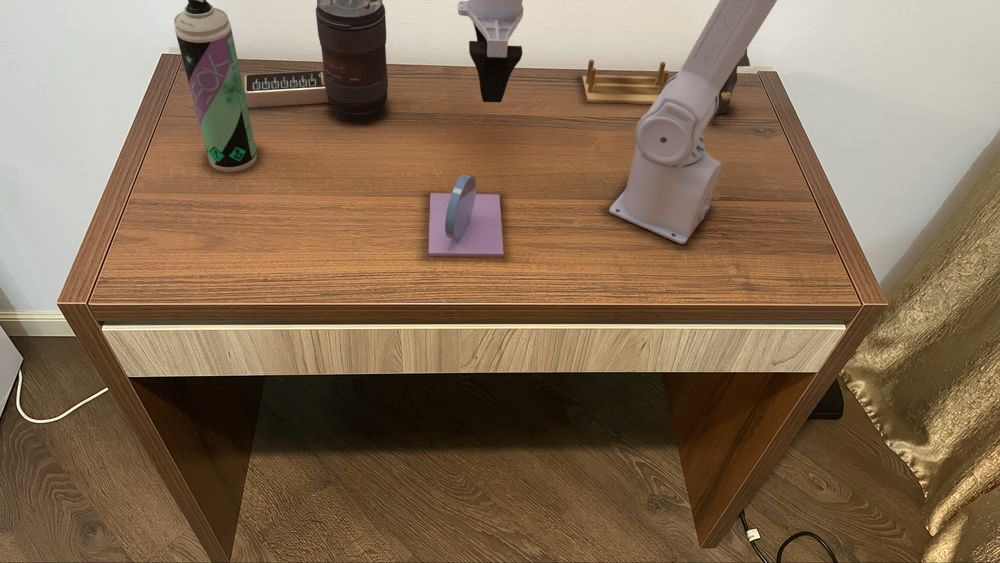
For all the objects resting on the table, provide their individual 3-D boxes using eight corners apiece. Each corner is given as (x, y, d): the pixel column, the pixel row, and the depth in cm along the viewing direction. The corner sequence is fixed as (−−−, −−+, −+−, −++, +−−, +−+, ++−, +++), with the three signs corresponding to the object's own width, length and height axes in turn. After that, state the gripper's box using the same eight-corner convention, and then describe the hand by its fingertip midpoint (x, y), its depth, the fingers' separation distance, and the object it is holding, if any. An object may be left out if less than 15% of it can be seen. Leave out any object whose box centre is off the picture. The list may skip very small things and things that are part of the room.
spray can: (211, 145, 91) (170, -16, 77) (258, 143, 92) (226, -17, 78) (207, 173, 88) (163, 9, 73) (256, 170, 89) (222, 8, 74)
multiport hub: (247, 89, 100) (244, 74, 99) (331, 84, 102) (330, 69, 101) (247, 108, 97) (244, 92, 96) (334, 102, 99) (332, 87, 98)
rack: (657, 81, 108) (664, 56, 106) (666, 104, 104) (672, 78, 101) (582, 78, 108) (586, 53, 105) (587, 102, 103) (591, 76, 100)
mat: (430, 196, 87) (430, 192, 87) (499, 197, 88) (499, 194, 88) (428, 256, 80) (428, 252, 80) (503, 257, 81) (503, 254, 81)
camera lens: (323, 126, 96) (309, 14, 85) (331, 91, 101) (319, -18, 90) (387, 128, 96) (382, 17, 85) (391, 93, 102) (387, -15, 91)
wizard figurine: (687, 98, 106) (710, 17, 97) (724, 96, 107) (750, 16, 98) (711, 133, 100) (737, 50, 91) (749, 130, 101) (779, 48, 92)
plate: (470, 191, 85) (462, 162, 78) (479, 193, 84) (471, 164, 78) (450, 247, 83) (440, 222, 76) (459, 249, 82) (449, 224, 76)
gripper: (458, -64, 83) (455, 49, 92) (459, -4, 73) (456, 116, 82) (522, -61, 83) (513, 51, 93) (532, -1, 73) (520, 118, 83)
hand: (490, 82), depth 88 cm, fingers open, 7 cm apart
